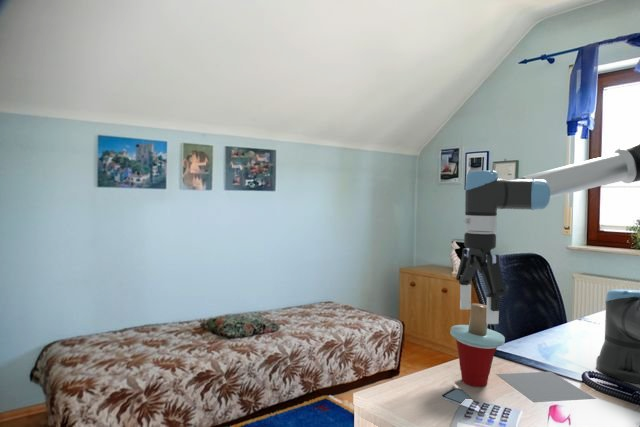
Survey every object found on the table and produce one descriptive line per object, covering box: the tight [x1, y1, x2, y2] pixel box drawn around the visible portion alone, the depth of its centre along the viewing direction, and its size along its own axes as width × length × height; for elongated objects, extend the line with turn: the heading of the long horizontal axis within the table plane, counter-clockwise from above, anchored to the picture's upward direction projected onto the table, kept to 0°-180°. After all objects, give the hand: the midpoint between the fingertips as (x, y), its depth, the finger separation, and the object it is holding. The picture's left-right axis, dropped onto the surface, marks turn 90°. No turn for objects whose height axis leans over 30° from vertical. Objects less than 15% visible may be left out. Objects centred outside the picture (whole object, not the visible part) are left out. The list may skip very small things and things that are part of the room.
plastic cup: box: [455, 338, 498, 388], centre depth 112 cm, size 11×11×12 cm
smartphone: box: [440, 387, 473, 406], centre depth 102 cm, size 7×1×15 cm
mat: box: [495, 371, 597, 403], centre depth 111 cm, size 16×16×1 cm
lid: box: [450, 302, 506, 348], centre depth 112 cm, size 13×13×8 cm
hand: (478, 316), depth 112 cm, fingers open, 13 cm apart
